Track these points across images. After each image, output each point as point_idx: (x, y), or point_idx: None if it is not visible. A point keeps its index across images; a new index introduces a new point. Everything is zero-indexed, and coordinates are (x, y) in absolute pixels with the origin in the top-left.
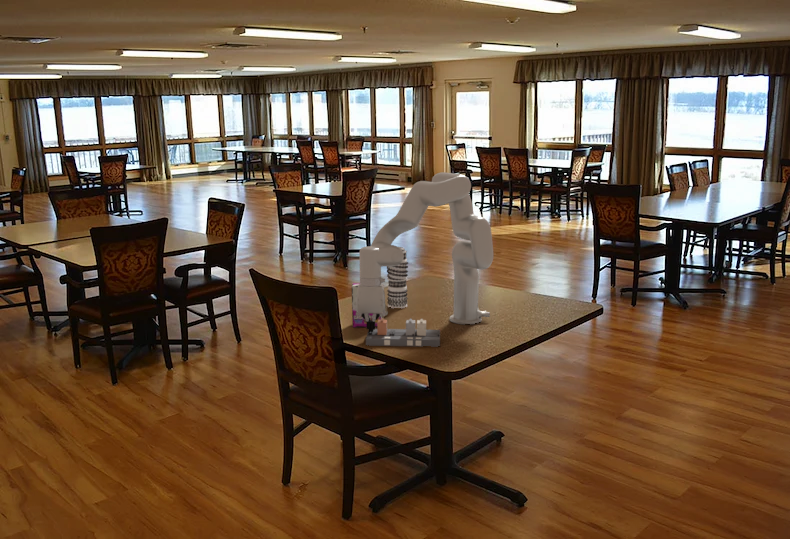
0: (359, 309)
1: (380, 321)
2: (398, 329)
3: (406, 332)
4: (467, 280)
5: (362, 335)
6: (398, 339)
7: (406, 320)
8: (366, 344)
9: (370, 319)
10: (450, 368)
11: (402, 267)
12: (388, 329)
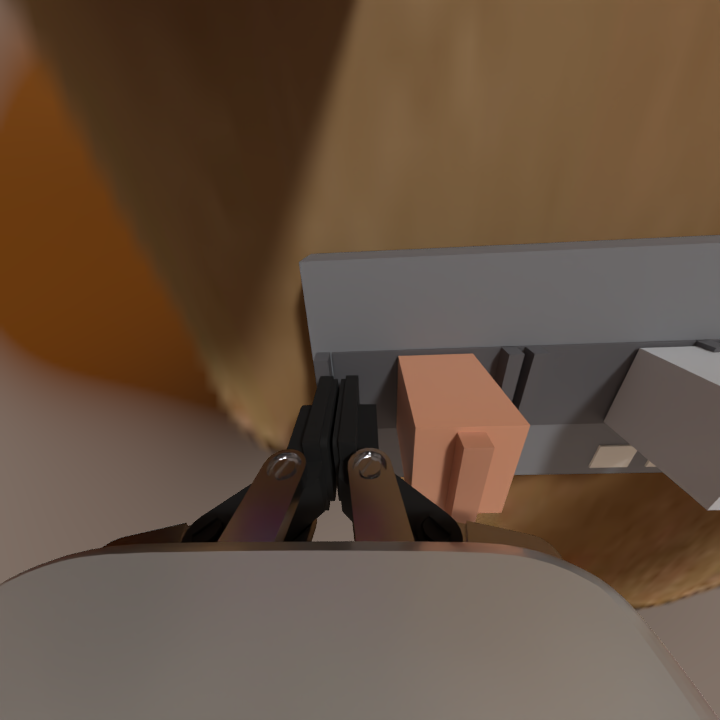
0: None
1: (441, 484)
2: (591, 263)
3: (626, 438)
4: None
5: (260, 265)
6: (529, 473)
7: None
8: None
9: (319, 442)
10: (644, 595)
11: None
12: (490, 271)
